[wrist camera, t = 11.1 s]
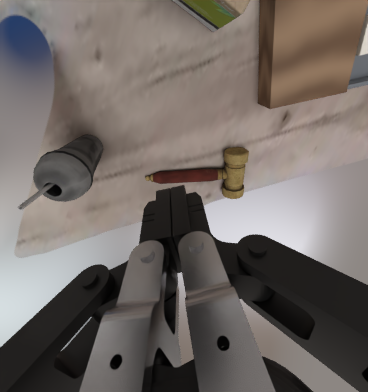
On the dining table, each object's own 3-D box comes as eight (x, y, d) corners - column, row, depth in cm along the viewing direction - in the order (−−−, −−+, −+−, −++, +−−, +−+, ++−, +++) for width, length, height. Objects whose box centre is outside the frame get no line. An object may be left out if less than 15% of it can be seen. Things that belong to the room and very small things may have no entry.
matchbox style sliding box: (259, -3, 28) (276, -14, 24) (346, -24, 27) (378, -40, 23) (258, 103, 36) (270, 108, 32) (325, 88, 35) (346, 92, 31)
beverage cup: (102, 170, 41) (59, 244, 24) (65, 152, 38) (-12, 222, 22) (116, 140, 38) (78, 202, 21) (77, 119, 35) (-2, 170, 18)
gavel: (147, 204, 43) (139, 161, 37) (150, 192, 47) (143, 151, 41) (245, 198, 42) (251, 154, 37) (240, 187, 46) (245, 145, 41)
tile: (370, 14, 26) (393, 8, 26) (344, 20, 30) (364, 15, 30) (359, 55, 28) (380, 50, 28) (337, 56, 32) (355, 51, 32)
